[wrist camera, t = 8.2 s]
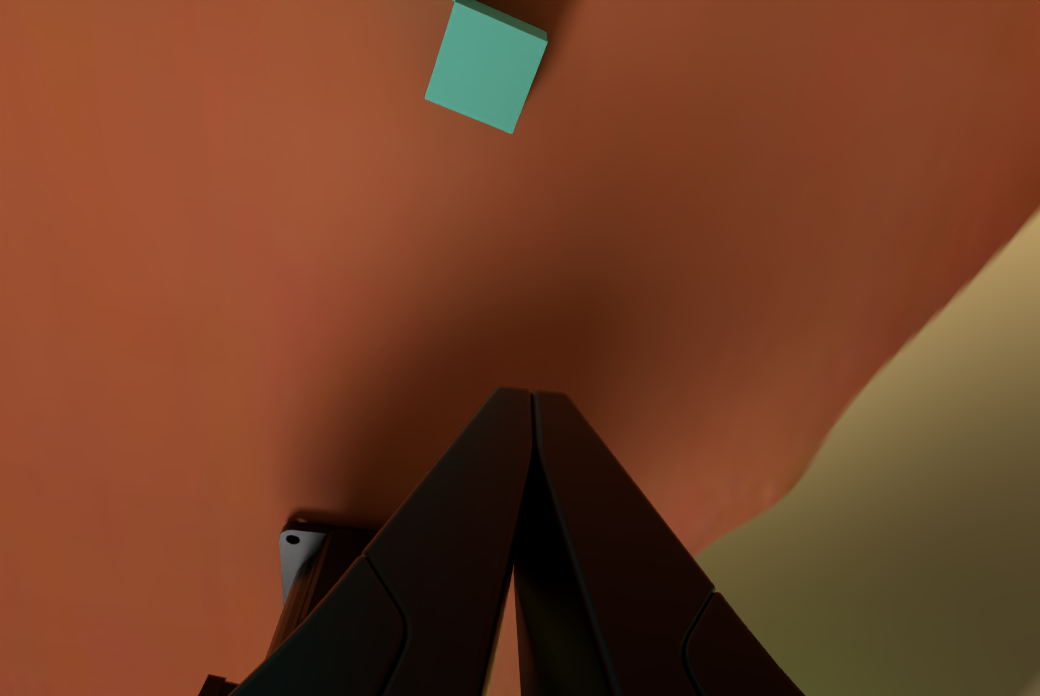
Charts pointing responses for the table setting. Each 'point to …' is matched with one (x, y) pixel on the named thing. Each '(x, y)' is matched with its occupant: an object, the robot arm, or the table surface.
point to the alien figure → (486, 64)
